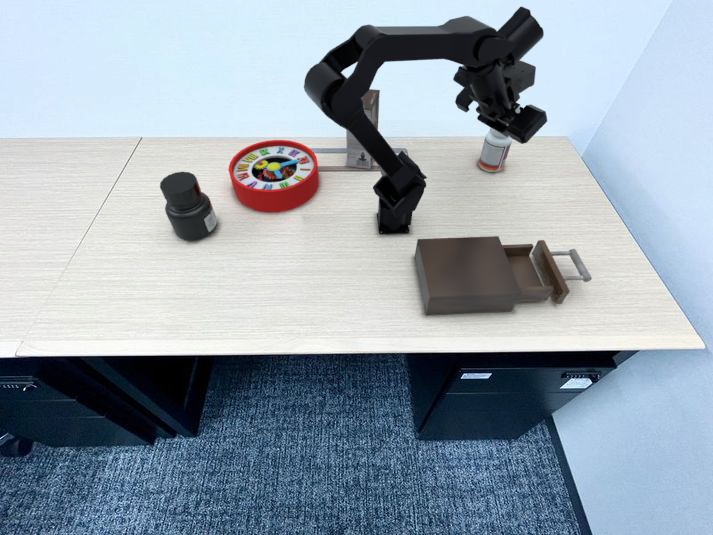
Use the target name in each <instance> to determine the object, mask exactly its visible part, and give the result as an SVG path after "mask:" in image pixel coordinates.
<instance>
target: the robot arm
mask: <svg viewBox="0 0 713 535" xmlns="http://www.w3.org/2000/svg"><path fill="white" fill-rule="evenodd" d="M544 36H545V34H544V29H543V27H542V26H541V25H540V23H539V21H538V20H537V19H536V17H534V16H533V15H532V13H531V10H530V8H526V7H525V6H519V7H518V9H517V10H516V11H515V12H514V13H513V14H512V16H511V17H510V18H508V20H507V21H506V22H505V23H504V24H503V25H502V26H501V27H500V28H498V29H496V28H495V27H492V26H490V25H488V24H486V23H484V22H482V21H480V20H478V19H476V18H474V17H472V16H470V15H464V16H459V17H455V18H451V19H448V20H447V21H445V23H443V24H440V25H411V26H410V25H407V26H405V25H404V26H403V25H402V26H400V25H399V26H398V25H397V26H395V25H393V26H392V25H391V26H389V25H388V26H386V25H385V26H382V25H381V26H380V25H379V26H377V25H376V26H375V25H373V24H364V25H361V26H359V28H357V29H356V30H355V31H354V33H353V34H352V35H351V36H350V37H349V38H348V39H346V40H344V41H343V42H342V43H340V44H338V45H337V46H335V47H333V48H332V49H330V50H328V52H327V53H326V54H325V55H324V56H323V58H321V59H320V61H319V62H318V63H315V64H314V65H312V66H311V67H310V69H308V71H307V72H306V75H305V78H304V81H303V82H304V83H303V89H304V92H305V93H306V95H307V97H308V98H309V99H310V100H311V101H312V102H313V103H314V104H315V105H316V107H318V109H319V110H320V111H321V112H322V113H323V114H324V116H326V117H327V118H328V119H330V120H331V121H332V122H333V123H335V124H336V125H337V126H339V127H341V128H343V129H344V130H346V129H347V130H348V131H349V132H350V133H351V134H352V136H353V137H354V138H355V139H356V140H357V141H358V142H359V144H360V145H361V146H362V147H363V148H364V149H365V151H366V152H367V153H368V154H369V155H370V156H371V157H372V159H373V160H374V161H373V162H375V163H376V164H377V166H378V167H379V168H380V169H379V172H380V175H381V177H380V178H379V179H378V180H377V181H376V182H375V184H374V185H373V186H372V190H373V192H374V194H375V195H376V196H377V197H378V206H377V212H376V223H377V229H378V231H377V232H378V234H379V235H407V234H410V226H411V225H412V218H413V212H415V211H416V209H417V208H418V205H419V204H420V202H421V199H422V198H423V195H424V193H425V188H427V182H426V179H427V178H428V177H427V175H425V173H423V171H421V168H420V167H419V165H418V164H417V163H416V161H414V160H413V159H412V158H411V157H410V156H408V154H407V153H405V152H404V150H402V149H401V150H400V151H399V153H398V154H397V153H396V152H395V151H394V149H393V148H392V147H391V145H390V144H389V143H388V142H387V140H386V138H384V136H383V135H382V134H381V132H380V131H379V129H378V130H377V129H376V127H375V126H374V125H373V123H372V122H371V121H370V119H369V118H368V117H367V115H366V113H365V109H364V104H363V101H362V99H361V98H362V97H363V96H364V95H365V94H366V93H367V92H368V90H369V89H371V86H372V84H373V82H374V80H375V77H376V74H377V73H378V71H379V69H380V68H381V67H382V66H383V65H384V64H385V63H391V62H410V61H412V62H413V61H431V60H434V61H435V60H446V61H450V62H453V63H456V64H460V66H458V68H457V71H456V72H455V73H454V75H453V78H452V80H453V82H455V83H456V84H458V85H459V86H461V87H462V90H461V91H460V92H458V94H457V95H456V97H455V100H454V103H455V105H456V108H457V109H458V110H460V111H463V112H464V113H468V112H469V111H470V110H471V109H470V105H472V103H473V102H476V103H477V105H478V106H476V108H475V112H476V113H478V114H479V115H477V117H476V119H477V121H479V122H481V123H482V124H484V125H486V126H487V127H489V128H490V127H491V128H492V129H494V130H496V131H497V132H499V133H501V134H502V135H504V136H506V137H508V136H510V137H511V138H512V140H514V141H516V142H518V143H519V144H521V145H524V144H528V142H529V141H530V140H532V138H533V137H534V136H535V135H536V134H537V133H538V132H539V131H540V130H541V129H542V127H544V125H545V124H546V123H547V122H548V116H547V112H546V110H544V109H541V108H540V107H537V106H536V105H533V104H526V105H525V106H524V107H523V106H521V103H518V101H519V100H520V99H521V96H520V94H521V93H523V92H524V91H526V90H527V89H529V88H532V87H533V86H534V85H535V82H536V71H537V67H536V66H535V65H534V64H530V63H528V62H526V61H524V60H522V59H523V58H524V57H525V56H526V55H527V54H528V53H529V52H530V51H531V50H532V49H534V47H535V46H536V45H537V44H538V43H540V42H541V40H543V38H544ZM354 64H356V65H355V66H354V70H353V72H352V73H351V74H350V75H349V76H348V77H346V75H345V74H344V73H343V71H344V70H346V69H348V68H350V67H351V66H353V65H354Z"/></svg>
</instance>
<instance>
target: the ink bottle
mask: <svg viewBox="0 0 713 535" xmlns="http://www.w3.org/2000/svg"><path fill="white" fill-rule="evenodd" d="M159 188H160V190H161V193H162V195H163V198H164V199H165V201H166V203H165V206H164V212H165V214H166V217H167V218H168V221H169V223H170V226H171V227H172V229H173V231H174V233H175V235H176V236H177V237H178V238H179V239H181V240H182V241H186V242H196V241H197V242H198V241H200V240H204V239H207V238H208V237H210V236H211V235H212V234H214V233H215V231H216V230H217V228H218V224H219V222H218V219H217V215H216V213H215V210H214V206H213V204H212V202H211V199H210V197H209V196H208V195H207V194H206V193H205V192H203V191H202V189H201V186H200V184H199V181H198V178H197V176H196V175H195V174H194V173H191V172H190V171H178V172H174V173H171V174H170V173H169V174H168V175H167V176H165V177H164V178H162V179H161V181H160V182H159Z"/></svg>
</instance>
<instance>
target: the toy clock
mask: <svg viewBox="0 0 713 535" xmlns="http://www.w3.org/2000/svg"><path fill="white" fill-rule="evenodd" d="M318 164H319V163H318V158H317V156H316V154H315V152H314V151H313V150H312V149H311V148H309V147H308V146H307V145H305V144H303V143H300V142H296V141H293V140H288V139H287V140H286V139H272V140H264V141H259V142H256V143H253V144H251V145H247V146H246V147H244V148H243V149H241V150H240V151H238V152H237V153H236V154H235V155H234V156H233V157H232V158H231V160H230V162H229V164H228V173H229V176H230V180H231V181H230V182H231V184H232V187H233V192H234V194H235V195H234V196H235V197H236V199H237V201H238V202H239V203H240V204H241V205H242V206H245V207H246V208H247V209H250V210H252V211H255V212H260V213H268V214H269V213H270V214H272V213H273V214H274V213H275V214H276V213H277V214H278V213H283V212H288V211H291V210H295V209H297V208H300V207H302V206H303V205H306V204H307V203H308V202H310V201H311V200H312V199H313V198H314V197H315V196H316V194H317V193H318V191H319V187H320V178H319V177H320V175H319V165H318Z"/></svg>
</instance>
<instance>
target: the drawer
mask: <svg viewBox="0 0 713 535" xmlns="http://www.w3.org/2000/svg"><path fill="white" fill-rule="evenodd" d="M502 246H503V249H504V251H505V254H506V256H507V259H508V261H509V264H510V266H511V269H512V271H513V274H514V276H515V279H516V281H517V283H518V286H519V288H520V291H521V295H520V296H519V298H518V300H517V302H537V301H539V302H540V301H548V299H549V297H551V299H552V301H553V303H554V305H562V304H563V302H564V301H565V300H566V298H567V296H568V295H569V293H570V288H569V285H568V284H567V283H566V282H567V281H569V282H570V281H582V282H584V283H588V282H590V281H591V280H592V279H593V278H592V275H591V274H590V272H589V270H588V269H587V267H586V266H585V264H584V262H583V260H582V258H581V256H580V254H579V253H578V250H577V249H575V248H571V249H569V250H560V251H557V250H556V251H550V249H549V246H548V245H547V243H546V241H545V239H539V240H537V242H536V244H535V246H534V245H533V243H520V244H502ZM530 255H532V258H533V260H534V261H535V264H536V266H537V268H538V271H539V272H540V275H541V277H542V279H543V281H544V284H545V285H543V283H542V280H541V278H540V276H539V274H538V271H537V269H536V267H535V265H534V262H533V261H532V259H531V256H530ZM558 256H560V257H562V256H569V258H570V260H571V261H572V263H573V264H574V267H575V269H576V270H577V272H578V274H579V275H564V276H563V274H562V272H561V271H560V269H559V266H558V265H557V263H556V261H555V258H554V257H558Z"/></svg>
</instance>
